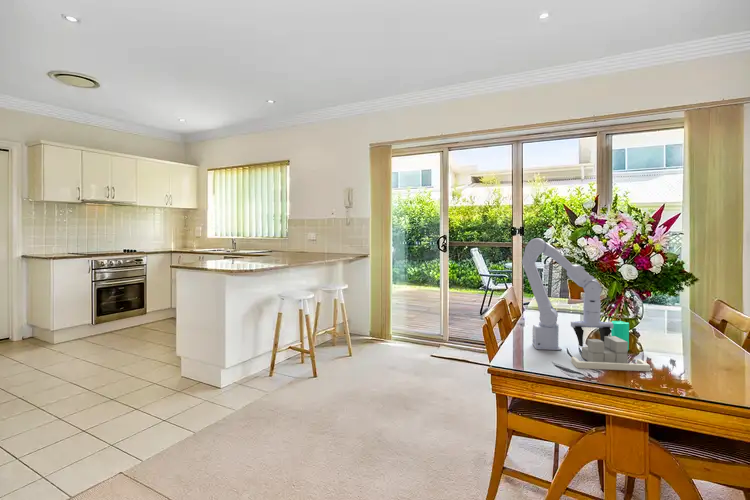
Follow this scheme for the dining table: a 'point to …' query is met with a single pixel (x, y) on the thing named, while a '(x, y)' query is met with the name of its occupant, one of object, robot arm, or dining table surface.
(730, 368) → the dining table surface
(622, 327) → the candle
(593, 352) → the grey stepped blocky piece
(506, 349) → the dining table surface
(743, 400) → the dining table surface
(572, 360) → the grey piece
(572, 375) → the dining table surface
